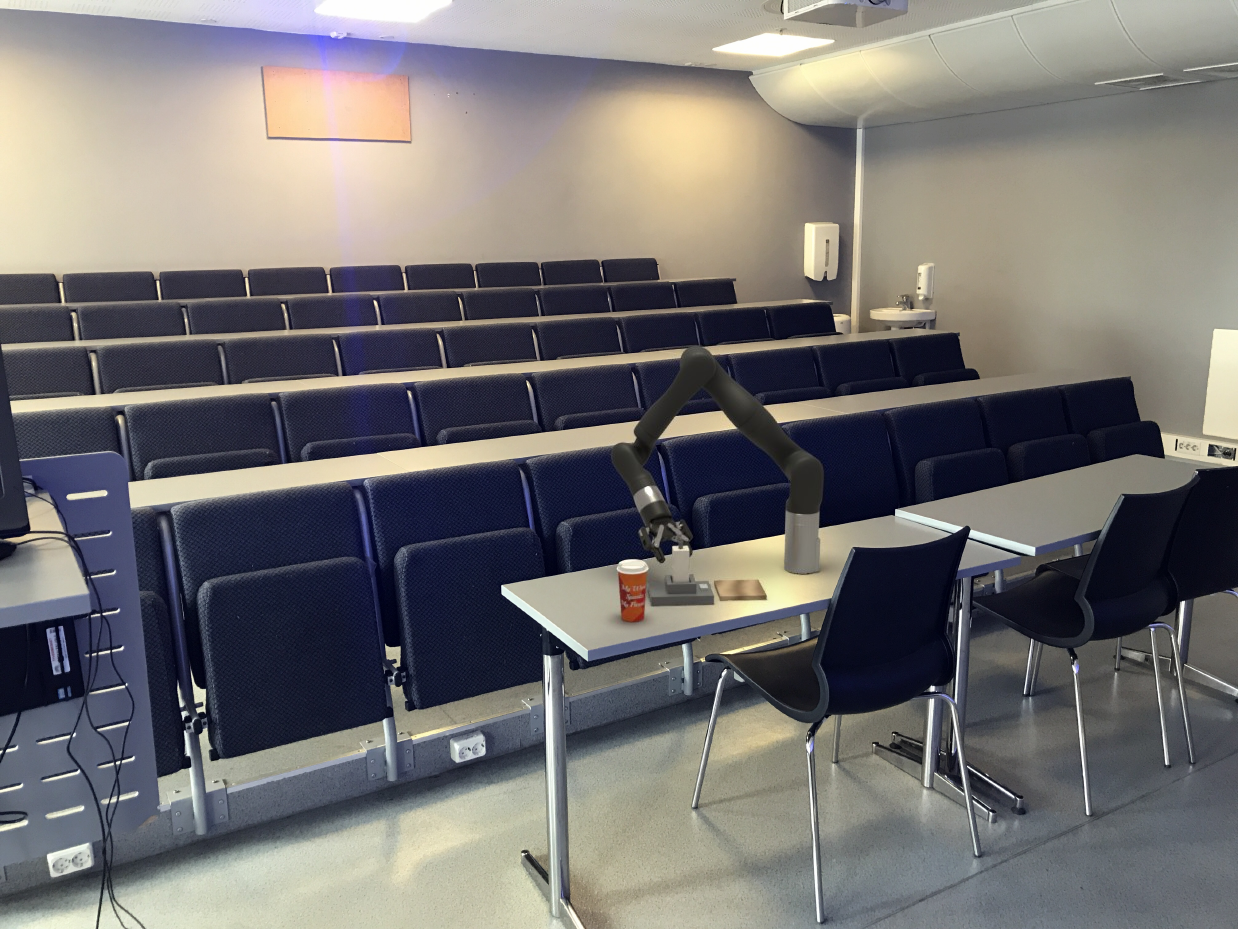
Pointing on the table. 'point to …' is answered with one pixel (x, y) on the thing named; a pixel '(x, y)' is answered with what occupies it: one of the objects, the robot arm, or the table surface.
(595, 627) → the table surface
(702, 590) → the gray socket base
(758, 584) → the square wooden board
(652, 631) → the table surface
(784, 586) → the table surface
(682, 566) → the plug
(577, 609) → the table surface
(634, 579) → the paper cup
